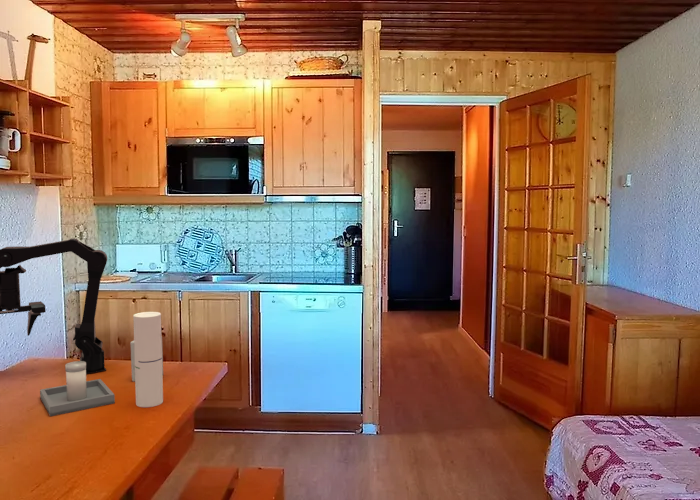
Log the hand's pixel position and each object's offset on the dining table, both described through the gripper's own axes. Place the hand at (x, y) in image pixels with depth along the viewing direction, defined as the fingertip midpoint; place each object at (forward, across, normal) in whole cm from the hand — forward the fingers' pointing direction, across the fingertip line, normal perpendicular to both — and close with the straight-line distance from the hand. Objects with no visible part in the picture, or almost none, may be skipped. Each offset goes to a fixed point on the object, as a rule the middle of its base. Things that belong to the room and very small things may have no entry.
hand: (11, 337), depth 174 cm
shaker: (+12, -12, +32) cm, 36 cm away
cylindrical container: (+13, -28, +45) cm, 55 cm away
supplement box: (+13, -34, +24) cm, 44 cm away
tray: (+13, -12, +32) cm, 37 cm away
